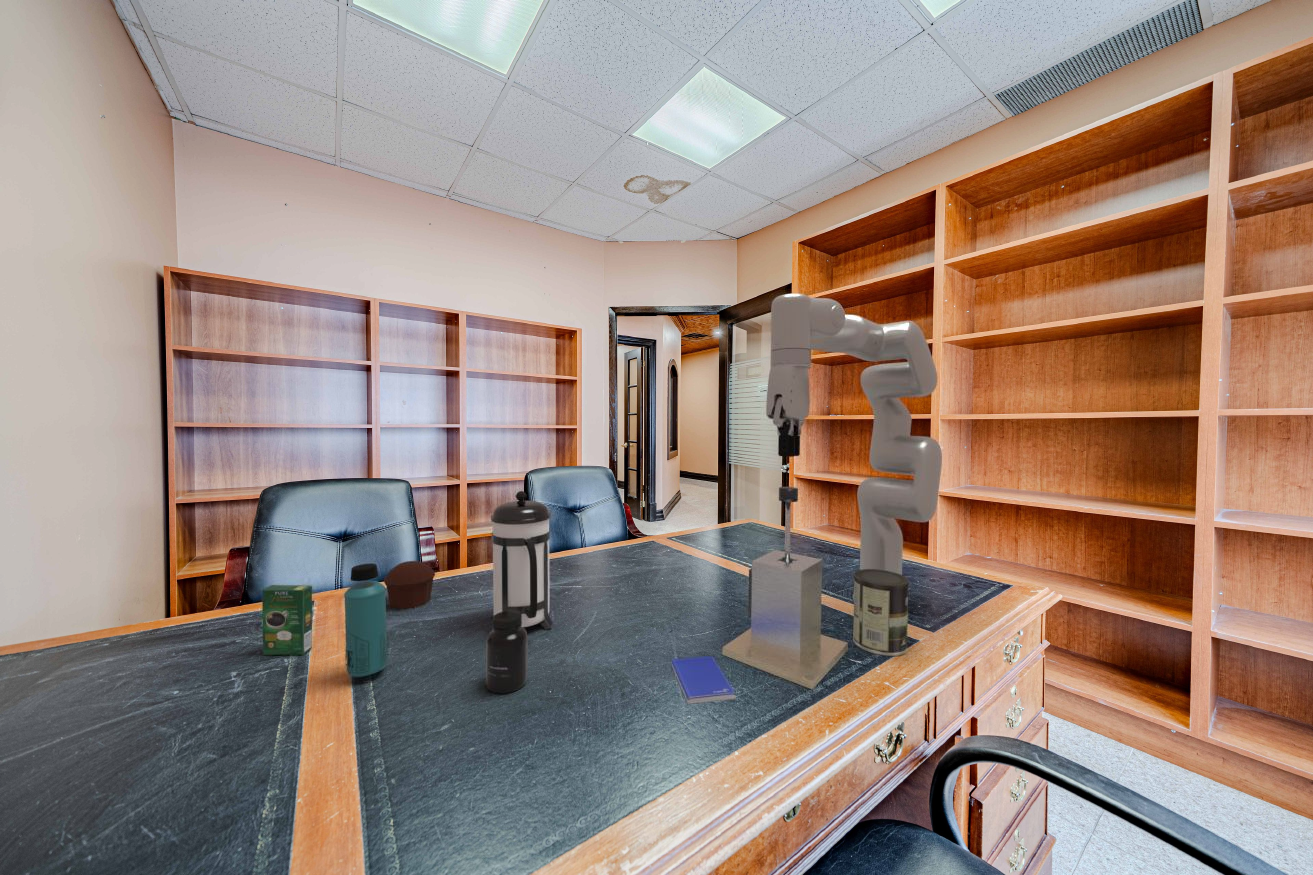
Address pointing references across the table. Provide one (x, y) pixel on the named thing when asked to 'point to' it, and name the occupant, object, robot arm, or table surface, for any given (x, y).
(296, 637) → the coffee box
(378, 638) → the beverage bottle
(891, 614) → the coffee can
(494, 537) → the coffee press
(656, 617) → the table surface
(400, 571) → the muffin
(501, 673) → the supplement bottle
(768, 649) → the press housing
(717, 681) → the hard drive
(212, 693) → the table surface
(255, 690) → the table surface
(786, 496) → the plunger
